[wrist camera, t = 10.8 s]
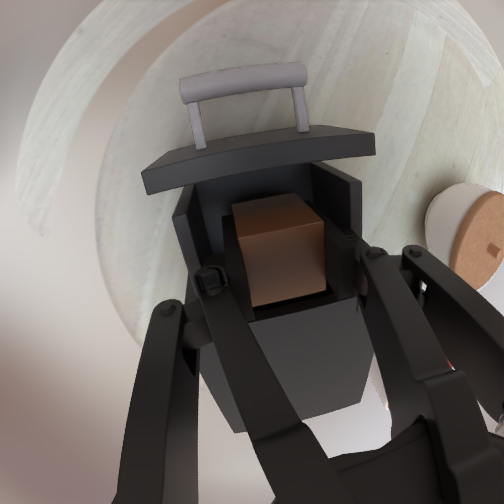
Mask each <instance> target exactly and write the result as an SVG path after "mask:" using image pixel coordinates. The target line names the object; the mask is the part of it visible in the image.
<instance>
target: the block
mask: <svg viewBox="0 0 504 504" xmlns="http://www.w3.org/2000/svg"><path fill="white" fill-rule="evenodd" d="M231 206H232V211H233V216H234V221H235V226H236V231H237V236H238V241H239V246H240V249H241V254H242V259H243V264H244V269H245V273H246V278H247V283H248V287H249V292H250V297H251V302H252V306H253V307H255V306H260V305H264V304H269V303H273V302H278V301H282V300H287V299H291V298H295V297H299V296H304V295H308V294H312V293H316V292H320V291H324V290H326V268H325V240H324V221H323V220H322V219H321V218H320V217H319V216H318V215H317V214H316V213H315V212H314V211H313V210H312V209H311V208H310V207H309V206H308V205H307V204H306V203H305V202H304V201H303V200H302V199H301V198H300V197H299V196H298V195H297V194H296V193H288V194H283V195H277V196H272V197H267V198H261V199H256V200H251V201H246V202H241V203H236V204H232V205H231Z"/></svg>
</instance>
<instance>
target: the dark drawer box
mask: <svg viewBox="0 0 504 504" xmlns="http://www.w3.org/2000/svg"><path fill="white" fill-rule="evenodd" d="M357 294H358V291H357V290H356V288H354V289H353V296H351V297H347V298H343V299H340V300H339V299H338V298H337V296H336V294H335V293H334V294H330V295H326V296H322V297H318V298H314V299H310V300H306V301H302V302H298V303H293V304H289V305H285V306H280V307H276V308H271V309H267V310H262V311H258V312H254V316H255V320H252V321H247V322H248V324H249V326H250V328H251V330H252V332H253V334H254V336H255V338H256V340H257V342H258V344H259V345H260V347H261V349H262V351H263V353H264V355H265V357H266V359H267V360H268V362H269V364H270V366H271V368H272V370H273V372H274V373H275V375H276V377H277V379H278V381H279V382H280V384H281V386H282V388H283V390H284V392H285V393H286V395H287V397H288V399H289V400H290V402H291V404H292V406H293V408H294V409H295V411H296V413H297V415H298V416H299V418H300V420H304V419H308V418H312V417H315V416H319V415H323V414H326V413H329V412H333V411H336V410H339V409H342V408H345V407H348V406H351V405H354V404H357V403H359V402H360V401H361V398H362V395H363V391H364V388H365V385H366V381H367V378H368V374H369V370H370V367H371V363H372V359H373V355H374V350H373V346H372V343H371V340H370V337H369V333H368V330H367V327H366V324H365V321H364V318H363V315H362V312H361V309H360V308H359V312H356V305H357ZM195 298H197V295H196V293H195V290H194V287H193V284H192V281H191V278H190V275H189V272H188V279H187V288H186V296H185V304H186V303H188V302H190V301H192V300H194V299H195ZM199 372H200V373H201V375H202V377H203V379H204V381H205V383H206V385H207V387H208V389H209V390H210V392H211V394H212V396H213V398H214V399H215V401H216V403H217V405H218V406H219V408H220V410H221V412H222V413H223V415H224V417H225V419H226V420H227V422H228V423H229V425H230V427H231V429H232V430H233V432H234V433H240V432H247V430H246V428H245V425H244V423H243V420H242V418H241V415H240V413H239V410H238V408H237V405H236V403H235V400H234V397H233V395H232V392H231V389H230V387H229V384H228V381H227V379H226V376H225V373H224V370H223V368H222V365H221V362H220V359H219V356H218V353H217V351H216V348H215V345H214V342H212V343H210V344H207V345H205V346H203V347H200V370H199Z"/></svg>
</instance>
